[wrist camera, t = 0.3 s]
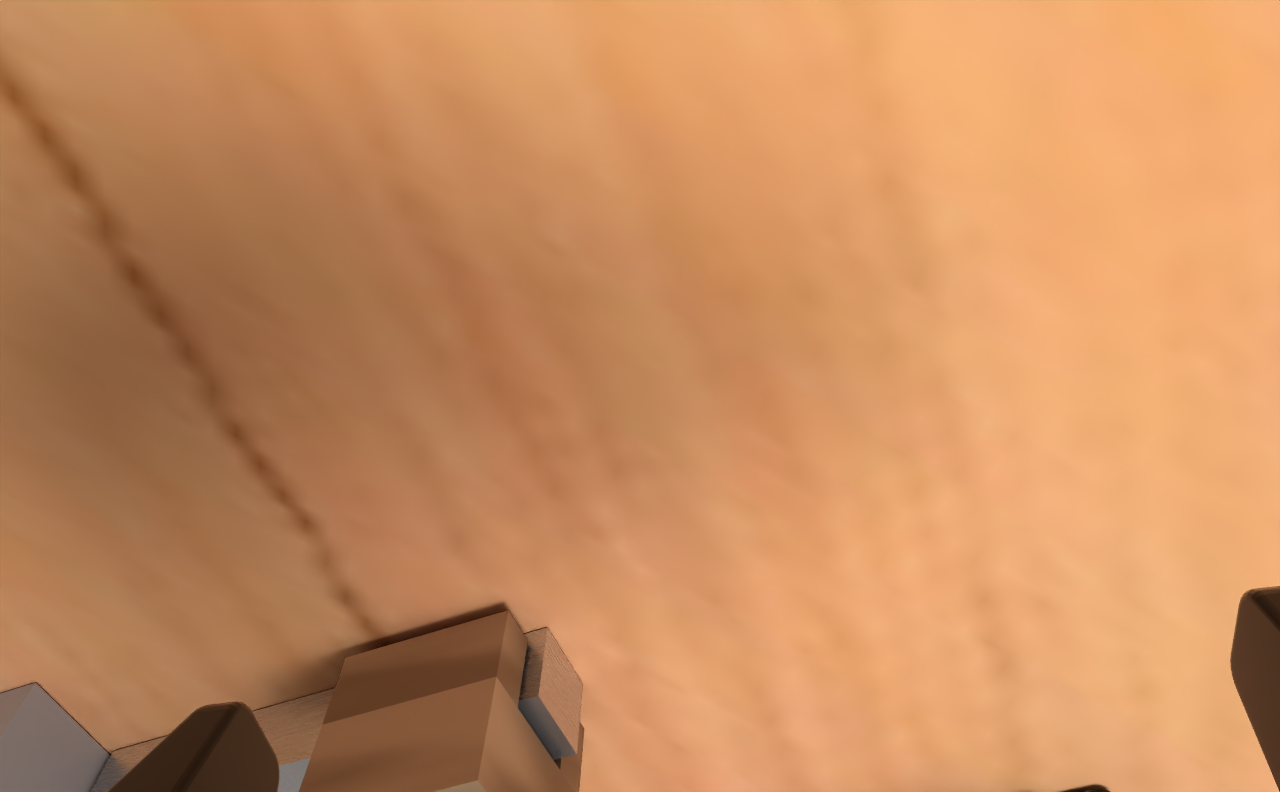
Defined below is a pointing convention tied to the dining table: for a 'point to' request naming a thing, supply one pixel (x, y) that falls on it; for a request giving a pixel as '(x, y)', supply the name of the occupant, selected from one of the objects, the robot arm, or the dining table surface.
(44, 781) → the end cabinet
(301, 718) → the rail
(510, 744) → the block
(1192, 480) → the dining table surface
